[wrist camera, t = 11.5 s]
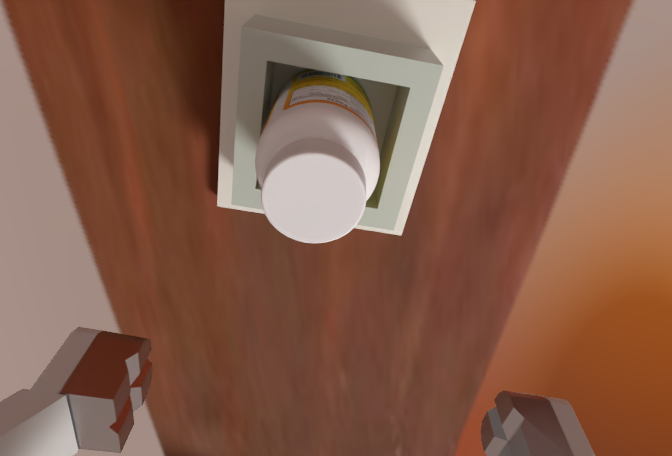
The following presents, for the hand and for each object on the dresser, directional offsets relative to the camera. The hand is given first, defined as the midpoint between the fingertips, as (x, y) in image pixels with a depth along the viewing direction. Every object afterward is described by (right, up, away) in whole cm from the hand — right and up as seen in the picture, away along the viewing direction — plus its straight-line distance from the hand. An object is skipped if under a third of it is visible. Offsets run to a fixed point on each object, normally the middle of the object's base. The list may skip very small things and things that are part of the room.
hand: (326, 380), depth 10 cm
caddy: (0, +10, +15) cm, 18 cm away
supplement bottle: (-1, +10, +15) cm, 18 cm away
